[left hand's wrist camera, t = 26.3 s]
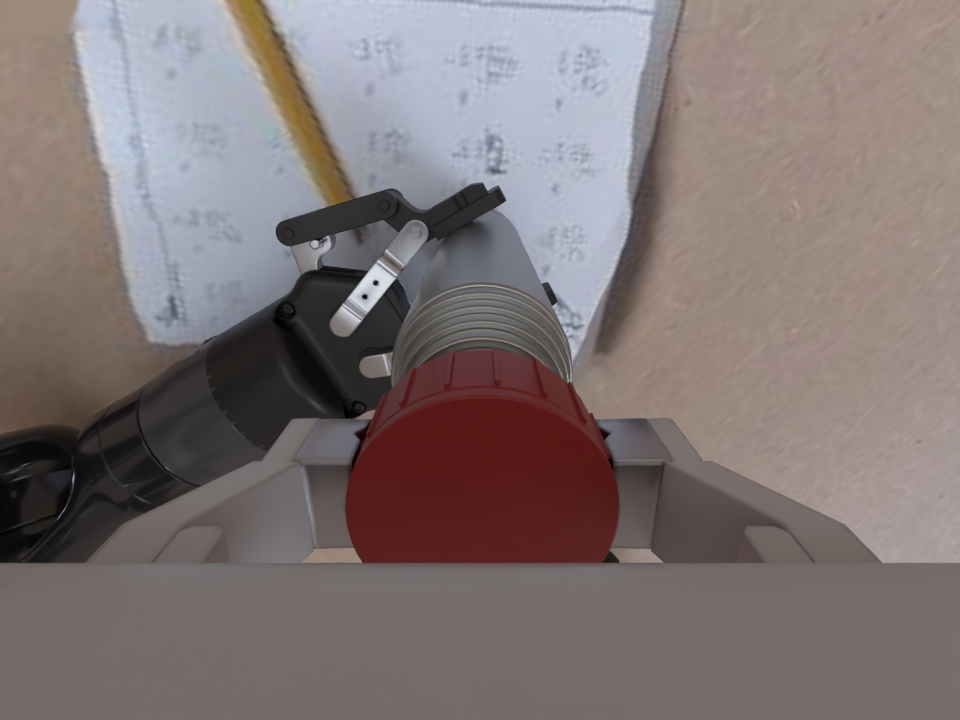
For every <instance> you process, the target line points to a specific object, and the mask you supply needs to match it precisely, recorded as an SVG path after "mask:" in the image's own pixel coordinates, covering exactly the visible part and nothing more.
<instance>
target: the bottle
mask: <svg viewBox="0 0 960 720" xmlns="http://www.w3.org/2000/svg"><path fill="white" fill-rule="evenodd" d="M493 348H497V349H498V351H505V352H509V353H514V354H518V355H521V356H524V357H527V358H529V359H532V360H535V359H538V360H539V361H540V364H542V365H544V366H546V367H548V368H550V369H551V370H552V371H554V372H555V373H556V374H558V375H559V376H561V377H562V378H563V379H564V380H565V381H566V382H567V383H569V382H571V383H572V358H571V351H570V346H569V343H568V340H567V337H566V335H565V333H564V330H563V328H562V326H561V324H560V322H559V320H558V318H557V316H556V313H555V311H554V309H553V307H552V305H551V303H550V301H549V299H548V297H547V294H546V292H545V290H544V288H543V286H542V284H541V282H540V280H539V278H538V275H537V273H536V271H535V269H534V267H533V265H532V263H531V261H530V258H529V256H528V254H527V252H526V250H525V248H524V246H523V244H522V242H521V239H520V237H519V235H518V233H517V231H516V229H515V227H514V226H513V224H512V223H511V222H510V221H509V220H508V219H507V218H506V217H505V216H504V215H502V214H501V213H499V212H497V211H494V210H490V211H489V212H487V213H485V214H483V215H482V216H480V217H478V218H477V219H475V220H473V221H471V222H470V223H468V224H466V225H465V226H463V227H461V228H459V229H457V230H455V231H454V232H452V233H451V234H449V235H447V236H446V237H444V238H442V240H441V242H440V244H439V246H438V248H437V250H436V253H435V255H434V257H433V259H432V261H431V264H430V266H429V268H428V270H427V272H426V274H425V277H424V279H423V281H422V283H421V285H420V287H419V290H418V292H417V294H416V296H415V298H414V301H413V303H412V305H411V307H410V309H409V311H408V314H407V316H406V318H405V320H404V322H403V324H402V327H401V329H400V331H399V333H398V336H397V338H396V341H395V344H394V348H393V354H392V366H391V384H392V387H393V386H394V385H395V384H396V383H397V382H398V381H400V380H401V379H402V378H403V377H404V376H405V375H407V374H408V373H409V370H410V369H411V368H412V367H414V368H417V367H419V366H420V365H422V364H424V363H426V362H428V361H430V360H433V359H435V358H438V357H440V356H443V355H447V354H449V352H450V351H454V353H455V352H460V351H468V350H493Z"/></svg>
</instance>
